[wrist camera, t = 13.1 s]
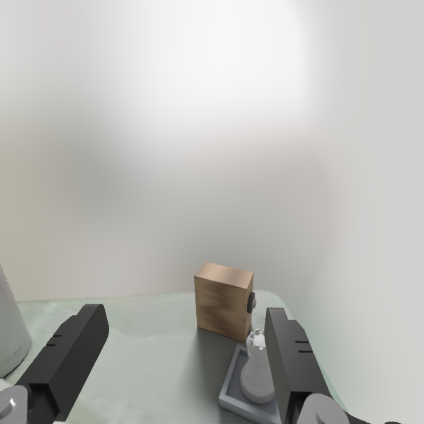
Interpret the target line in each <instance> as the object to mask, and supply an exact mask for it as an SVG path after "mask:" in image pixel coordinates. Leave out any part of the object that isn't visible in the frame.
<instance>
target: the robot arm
mask: <svg viewBox="0 0 424 424" xmlns="http://www.w3.org/2000/svg"><path fill="white" fill-rule="evenodd" d="M108 334H109V325H108V321H107V317H106V313H105V309H104V306H103V305H102V304H85V305H84V306H83V307H82V309H81V310H80V311H79V313H78V314H77V315H72V316H71V317H70V318H69V319H67V320H66V321H65V322H64V323H62V324H61V325H60V327H59V328H58V329H57V331H56V332H55V333H54V335H53V337H51V338H50V340H49V341H48V342H47V344H46V346H44V348H43V349H42V350H41V352H40V353H39V354H38V355H37V357H36V358H35V359H34V361H33V362H32V363H31V365H30V366H29V367H28V368H27V370H26V371H25V372H24V374H23V375H22V376H21V378H20V379H19V380H18V381H17V383H16V384H15V385H14V386H11V387H8V388H6V389H4V390H2V391H1V392H0V424H53V422H54V421H62V422H65V421H66V419H67V417H68V415H69V413H70V411H71V409H72V407H73V405H74V403H75V401H76V399H77V397H78V395H79V393H80V391H81V390H82V388H83V386H84V384H85V382H86V380H87V378H88V376H89V374H90V372H91V370H92V368H93V366H94V364H95V362H96V360H97V358H98V356H99V354H100V352H101V350H102V348H103V346H104V344H105V342H106V340H107V338H108ZM264 338H265V346H266V350H267V355H268V360H269V365H270V370H271V375H272V380H273V385H274V389H275V394H276V399H277V404H278V409H279V414H280V419H281V423H282V424H370V423H367V422H365V421H362V420H360V419H357V418H355V417H353V416H351V415H350V414H348V413H347V412H345V411H344V410H343V409H342V408H341V407H340V405H339V404H338V403H337V402H335V400H334V399H333V398H332V396H331V394H330V392H329V390H328V387H327V385H326V382H325V380H324V378H323V375H322V373H321V370H320V368H319V365H318V363H317V360H316V358H315V355H314V353H313V350H312V348H311V345H310V343H309V340H308V338H307V336H306V333H305V331H304V329H303V328H302V327H301V326H300V324H299V323H298V322H297V321H296V320H288V319H287V316H286V313H285V310H284V308H267V311H266V319H265V328H264ZM31 343H32V340H31V337H30V334H29V332H28V329H27V327H26V325H25V322H24V319H23V317H22V315H21V312H20V310H19V307H18V305H17V303H16V300H15V298H14V295H13V293H12V291H11V288H10V286H9V283H8V281H7V279H6V276H5V274H4V272H3V269H2V267H1V264H0V379H1V378H3V377H4V376H5V375H7V374H8V373H9V372H11V371H12V370H13V369H14V368H15V367H16V366H17V365H18V364H19V363H20V362H21V361H22V360H23V359H24V358H25V356H26V355H27V353H28V352H29V350H30V347H31ZM385 424H400V423H398V422H386V423H385Z"/></svg>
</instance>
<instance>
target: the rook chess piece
mask: <svg viewBox="0 0 424 424" xmlns="http://www.w3.org/2000/svg"><path fill="white" fill-rule="evenodd" d="M246 346H247V348H248V356H249V359H248V362H247V363H246V364H245V365H244V367H243V369H242V370H241V376H240V386H241V389H242V392H243V393H244V394H245V396H246V397H247V398H248V399H250V400H251V401H253V402H255V403H260V404H263V403H267V402H269V401H270V400H271V399H273V398H274V396H275V389H274V385H273V380H272V375H271V370H270V365H269V360H268V355H267V350H266V346H265V338H264V329H263V332H259V329H255V332H254V333H253V332H251V333H250V335H249V336H248V338H247V339H246Z"/></svg>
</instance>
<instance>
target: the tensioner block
mask: <svg viewBox="0 0 424 424" xmlns="http://www.w3.org/2000/svg"><path fill="white" fill-rule="evenodd" d="M194 282H195V298H196V313H197V327H199V328H202V329H205V330H208V331H211V332H214V333H217V334H220V335H223V336H226V337H229V338H232V339H235V340H238V341H241V342H244V343H245V341H246V338H247V334H248V331H249V328H250V325H251V314H252V310H253V308H255V306H256V299H255V293H254V292H253V272H250V271H245V270H241V269H236V268H232V267H227V266H222V265H217V264H213V263H208V262H205V263H204V264H203V265H202V267H201V268H200V269H199V271H198V272H197V273H196V274H195V275H194Z"/></svg>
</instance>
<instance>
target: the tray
mask: <svg viewBox="0 0 424 424" xmlns="http://www.w3.org/2000/svg"><path fill="white" fill-rule="evenodd" d="M248 359H249V356H248V348H247V347H245V346H242V345H239V344H237V346H236V349H235V352H234V354H233V357H232V360H231V363H230V366H229V369H228V372H227V375H226V378H225V381H224V383H223V386H222V389H221V392H220V395H219V407H222V408H224V409H226V410H228V411H230V412H232V413H235V414H237V415H239V416H241V417H243V418H245V419H248V420H250V421H252V422H254V423H256V424H282V423H281V419H280V414H279V409H278V404H277V399H276V394H275V396H274V398H273V399H271V400H270V401H269V402H267V403H263V404H260V403H255V402H253V401H251V400H250V399H248V398H247V397H246V396H245V394H244V393H243V392H242V389H241V386H240V376H241V370H242V369H243V367H244V365H245V364H246V363H247V362H248Z"/></svg>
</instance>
